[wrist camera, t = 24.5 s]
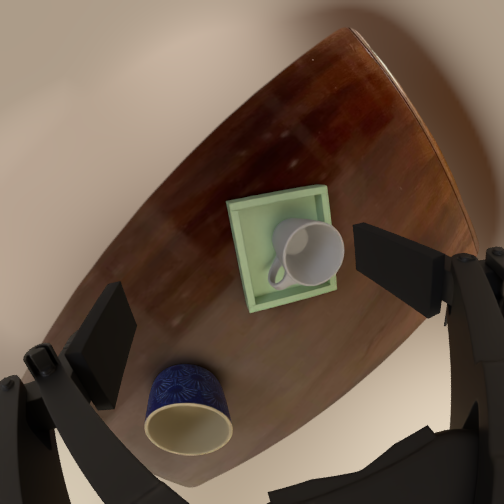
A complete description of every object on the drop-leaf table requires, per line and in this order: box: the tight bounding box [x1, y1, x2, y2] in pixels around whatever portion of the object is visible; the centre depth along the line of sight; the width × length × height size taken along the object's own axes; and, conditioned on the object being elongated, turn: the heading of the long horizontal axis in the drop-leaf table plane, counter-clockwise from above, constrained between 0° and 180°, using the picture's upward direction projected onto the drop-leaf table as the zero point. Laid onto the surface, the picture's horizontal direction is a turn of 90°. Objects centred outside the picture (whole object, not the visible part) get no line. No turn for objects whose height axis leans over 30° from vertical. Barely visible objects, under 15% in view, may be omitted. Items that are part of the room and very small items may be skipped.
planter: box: [144, 364, 233, 455], centre depth 39 cm, size 12×12×11 cm
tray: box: [226, 184, 337, 313], centre depth 40 cm, size 15×13×3 cm
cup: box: [268, 218, 344, 290], centre depth 37 cm, size 8×10×8 cm
